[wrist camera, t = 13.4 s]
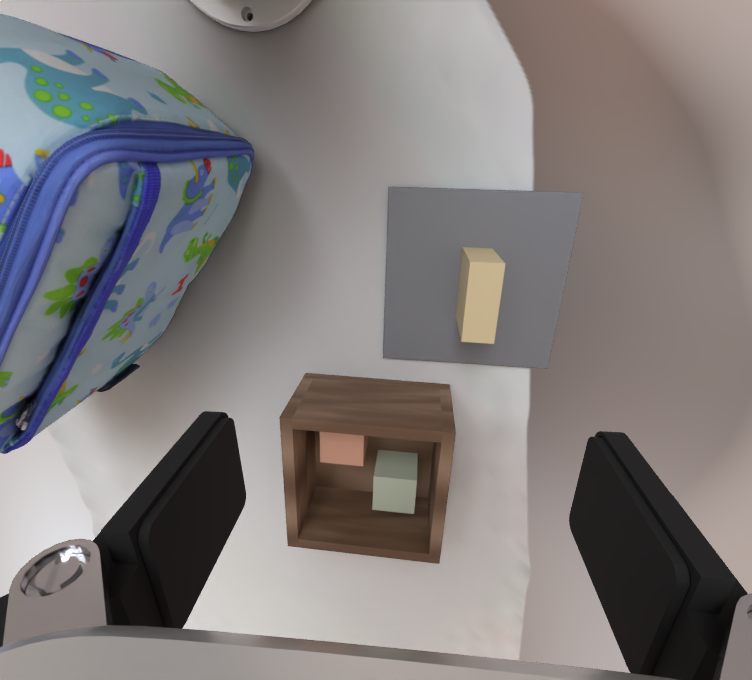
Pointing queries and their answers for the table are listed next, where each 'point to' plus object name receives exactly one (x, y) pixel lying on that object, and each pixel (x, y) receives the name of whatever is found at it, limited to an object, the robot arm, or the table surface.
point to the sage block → (395, 481)
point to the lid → (476, 274)
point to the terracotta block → (343, 448)
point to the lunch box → (97, 216)
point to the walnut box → (366, 465)
